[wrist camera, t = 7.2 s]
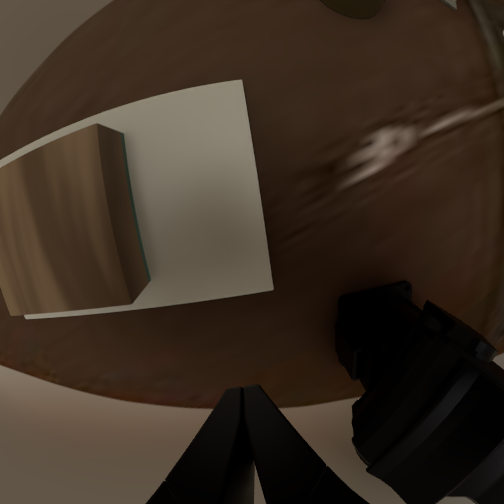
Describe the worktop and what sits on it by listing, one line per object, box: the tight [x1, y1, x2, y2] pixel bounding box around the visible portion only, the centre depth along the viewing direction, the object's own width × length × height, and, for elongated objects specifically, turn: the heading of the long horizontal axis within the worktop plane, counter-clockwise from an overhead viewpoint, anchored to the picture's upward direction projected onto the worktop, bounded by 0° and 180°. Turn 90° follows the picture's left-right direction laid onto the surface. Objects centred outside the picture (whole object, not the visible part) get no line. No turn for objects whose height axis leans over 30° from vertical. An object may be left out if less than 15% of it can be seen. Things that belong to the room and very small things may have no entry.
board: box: [0, 80, 274, 319], centre depth 17 cm, size 22×14×1 cm, turn 99°
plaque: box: [0, 123, 151, 316], centre depth 15 cm, size 4×10×11 cm
